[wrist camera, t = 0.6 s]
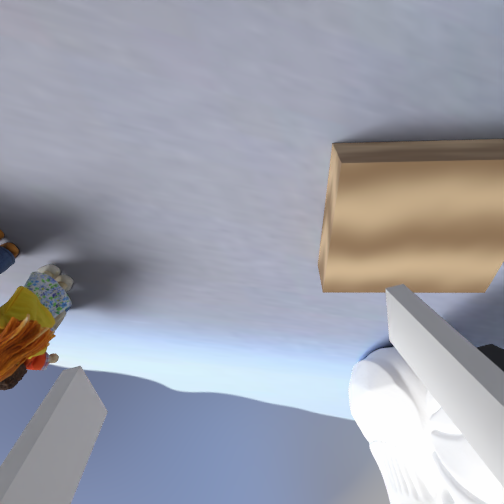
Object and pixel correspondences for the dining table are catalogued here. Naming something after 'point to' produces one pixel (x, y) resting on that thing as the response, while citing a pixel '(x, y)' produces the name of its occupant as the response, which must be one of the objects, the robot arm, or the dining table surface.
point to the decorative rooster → (415, 437)
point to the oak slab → (413, 216)
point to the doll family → (30, 319)
